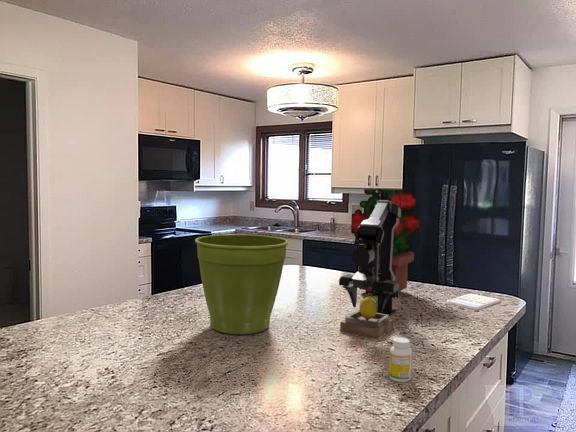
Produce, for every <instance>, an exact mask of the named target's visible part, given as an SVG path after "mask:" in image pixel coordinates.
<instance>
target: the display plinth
mask: <svg viewBox="0 0 576 432" xmlns="http://www.w3.org/2000/svg"><path fill="white" fill-rule="evenodd" d="M339 323H340V325H339V326H340V327H339V332H341V333H347V334H353V335H357V336H363V337H367V338H372V339H377V340H379V339H380V338H382V337H383V336H385V335H386V334H387V333H389V332H390V331H392V330H393V329H394V319H392V318H390V315H387V314H381V313H376V315H375V316H374V317H373V318H371V319H369V320H366V319H365V318H364V317H362V315H361V314H360V309H359V310H355V311H352V312H350V313H349V314H347V315H345V319H344V320H341V321H340V322H339ZM384 334H385V335H384Z"/></svg>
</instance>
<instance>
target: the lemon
mask: <svg viewBox="0 0 576 432" xmlns="http://www.w3.org/2000/svg"><path fill="white" fill-rule="evenodd" d="M359 310H360V314H361V315H362V317H364V318H365V319H366V320H369V319H371V318H373V317H374V316H375V315H376V312H377V300H375V299H374V298H373V297H371V296H370V295H369V296H367V297H364V298H363V299H362V300H361V301H360V304H359Z"/></svg>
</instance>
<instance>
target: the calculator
mask: <svg viewBox="0 0 576 432" xmlns="http://www.w3.org/2000/svg"><path fill="white" fill-rule="evenodd" d="M499 303H500V299H498V298H496V297H491V296H486V295H485V296H484V295H480V294H476V293H475V294H474V293H468V294H464V295H461V296H457V297H453V298H450V299H447V300H446V304H448V305H451V306H458V307H461V308H467V309H470V310H477V311H478V310H481V309H484V308H487V307H490V306H493V305H495V304H499Z"/></svg>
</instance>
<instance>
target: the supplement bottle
mask: <svg viewBox="0 0 576 432" xmlns="http://www.w3.org/2000/svg"><path fill="white" fill-rule="evenodd" d="M410 342H411V341H410V339H409V338H405V337H394V338H392V346H391V347H390V348H389V359H388V360H389V365H388V377H389V378H390V379H391V381H395V382H398V383H407V382H409V381H411V379H412V362H413V361H412V360H413V351H412V349H411V348H410Z"/></svg>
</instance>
